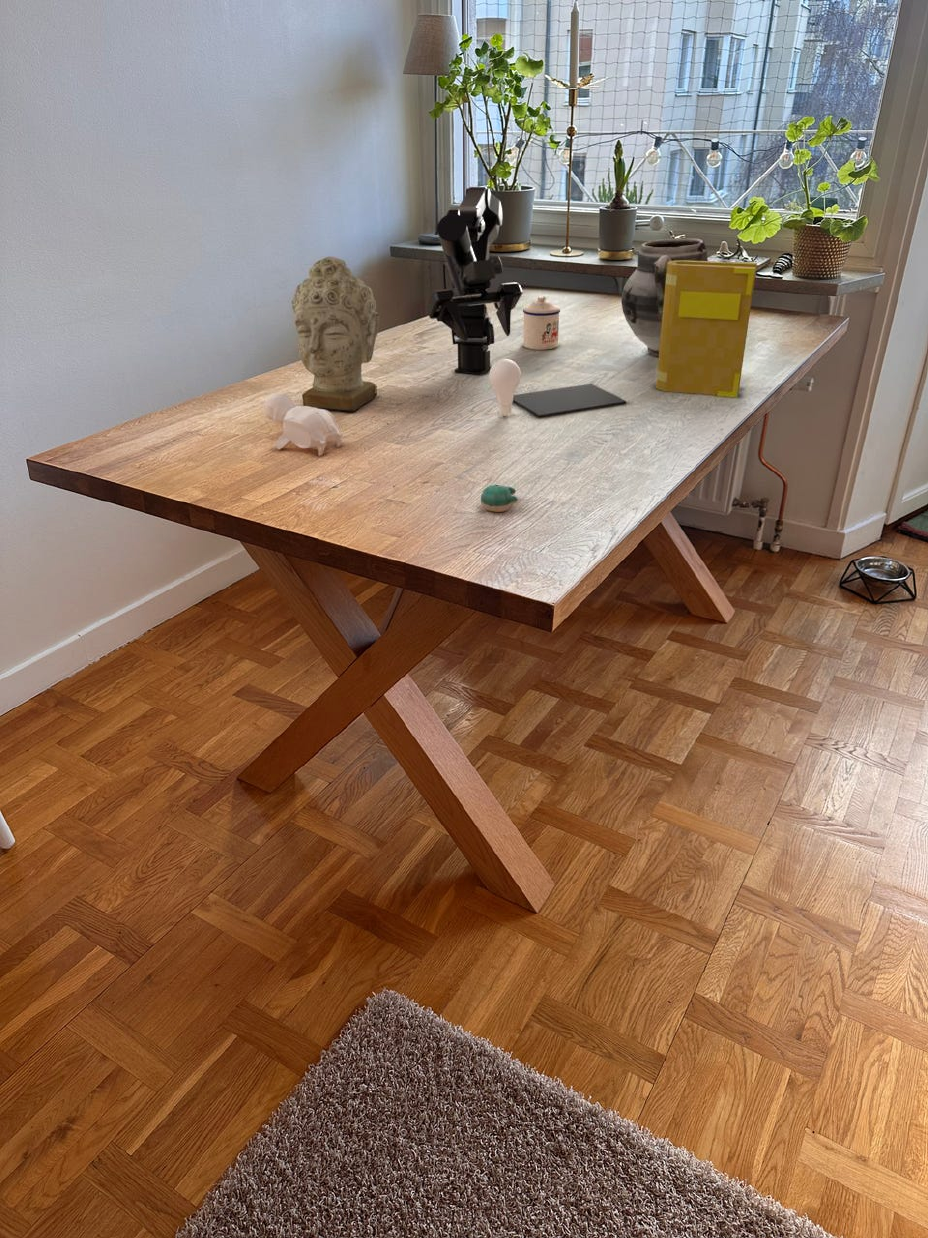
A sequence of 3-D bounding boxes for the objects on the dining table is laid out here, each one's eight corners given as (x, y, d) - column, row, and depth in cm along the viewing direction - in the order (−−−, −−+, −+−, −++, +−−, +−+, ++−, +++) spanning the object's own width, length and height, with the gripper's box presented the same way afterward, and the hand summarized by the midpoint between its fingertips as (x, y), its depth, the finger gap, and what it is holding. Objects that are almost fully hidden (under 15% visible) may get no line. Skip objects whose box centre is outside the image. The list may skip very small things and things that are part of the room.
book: (739, 388, 189) (757, 262, 176) (736, 397, 184) (754, 268, 171) (658, 381, 194) (670, 259, 181) (653, 390, 188) (665, 264, 176)
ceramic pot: (701, 372, 200) (715, 252, 187) (602, 363, 208) (609, 247, 195) (725, 342, 222) (739, 233, 209) (635, 335, 230) (643, 230, 217)
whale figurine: (472, 510, 137) (472, 487, 135) (492, 493, 143) (492, 471, 141) (507, 517, 135) (508, 493, 133) (526, 499, 140) (526, 476, 138)
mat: (507, 398, 186) (507, 395, 185) (590, 385, 192) (591, 383, 192) (538, 417, 175) (538, 415, 174) (626, 403, 181) (626, 401, 181)
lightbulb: (510, 422, 172) (511, 365, 167) (483, 417, 175) (483, 361, 169) (526, 413, 177) (527, 357, 171) (499, 409, 180) (499, 353, 174)
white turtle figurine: (341, 458, 166) (280, 417, 169) (351, 419, 160) (288, 377, 164) (311, 473, 160) (248, 430, 163) (320, 433, 154) (255, 390, 158)
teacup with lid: (546, 352, 217) (548, 302, 211) (515, 347, 222) (515, 298, 216) (571, 341, 225) (573, 293, 219) (540, 337, 230) (542, 289, 224)
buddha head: (282, 411, 181) (264, 263, 166) (325, 385, 196) (312, 248, 181) (358, 419, 176) (346, 267, 161) (396, 392, 191) (388, 251, 176)
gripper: (430, 245, 168) (454, 318, 165) (519, 238, 174) (544, 307, 171) (416, 283, 178) (439, 351, 175) (501, 274, 184) (524, 340, 181)
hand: (487, 337), depth 175 cm, fingers open, 9 cm apart
